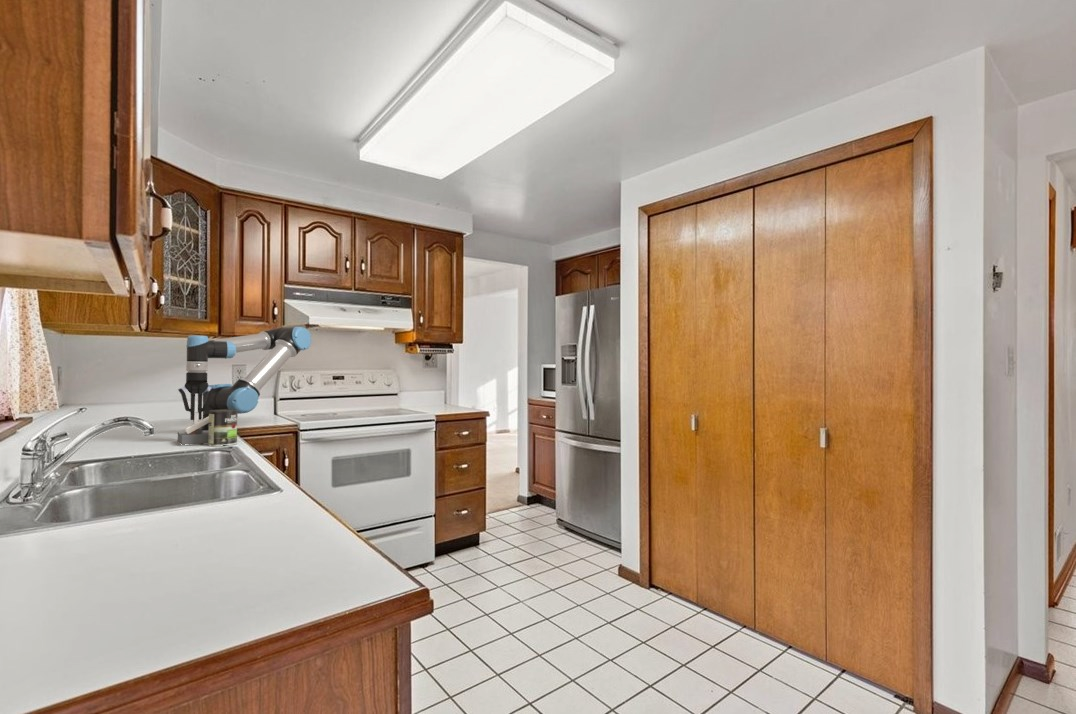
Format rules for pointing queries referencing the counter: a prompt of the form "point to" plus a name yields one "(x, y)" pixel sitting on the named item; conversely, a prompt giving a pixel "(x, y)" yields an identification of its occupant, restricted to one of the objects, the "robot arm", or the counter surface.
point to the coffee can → (222, 427)
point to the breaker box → (193, 437)
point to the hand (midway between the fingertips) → (195, 427)
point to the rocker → (197, 425)
